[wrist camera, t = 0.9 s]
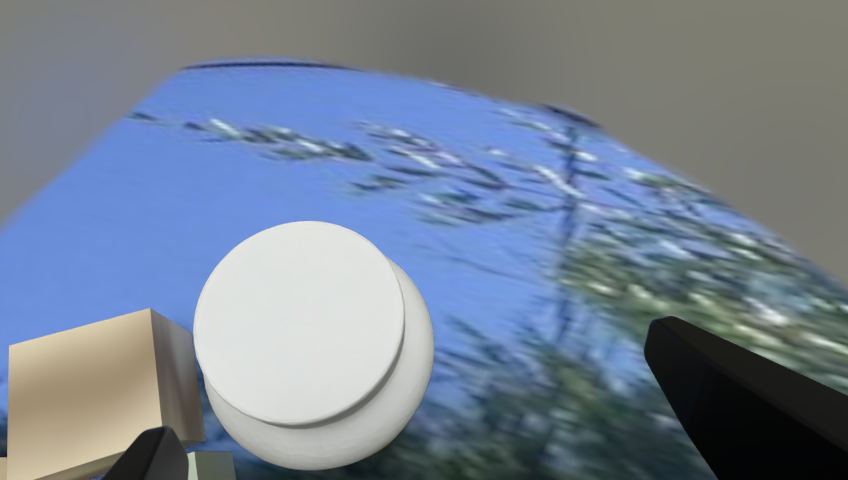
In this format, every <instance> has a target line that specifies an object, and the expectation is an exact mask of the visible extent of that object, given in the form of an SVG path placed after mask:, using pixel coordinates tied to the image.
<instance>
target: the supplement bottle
mask: <svg viewBox="0 0 848 480" xmlns="http://www.w3.org/2000/svg"><path fill="white" fill-rule="evenodd" d="M193 332H194V345H195V350H196V357H197V359H198V362H199V365H200V367H201V370H202V372H203V374H204V382H205V388H206V391H207V395H208V398H209V401H210V403H211V406H212V408H213V410H214V412H215V414H216V416H217V417H218V419H219V421H220V422H221V424H222V425H223V427H224V428H225V430H226V431H227V432H228V433H229V434H230V435H231V437H232V438H233V439H234V440H235V441H236V442H238V443H239V444H240V445H241V446H242V447H243V448H245V449H246V450H247V451H249V452H250V453H252V454H254V455H255V456H257V457H259V458H261V459H262V460H264V461H267V462H269V463H272V464H275V465H278V466H281V467H285V468H290V469H296V470H324V469H331V468H336V467H341V466H345V465H349V464H352V463H355V462H358V461H360V460H362V459H364V458H367V457H369V456H371V455H373V454H375V453H376V452H378V451H380V450H381V449H383V448H384V447H386V446H387V445H388V444H389V443H390V442H392V441H393V440H394V439H395V438H396V437H397V435H398V434H399V433H400V432H401V431H402V430H403V428H404V427H405V426H406V425H407V423H408V422H409V421H410V419H411V418H412V416H413V415H414V413H415V411H416V410H417V408H418V406H419V405H420V403H421V401H422V399H423V396H424V394H425V392H426V389H427V387H428V384H429V380H430V377H431V373H432V367H433V359H434V334H433V328H432V323H431V318H430V315H429V312H428V309H427V306H426V303H425V301H424V299H423V297H422V295H421V293H420V292H419V290H418V289H417V287H416V285H415V284H414V283H413V281H412V280H411V279H410V278H409V276H408V275H407V274H406V273H405V272H404V271H403V270H402V269H401V268H400V267H399V266H398V265H397V264H395V263H394V262H393V261H391V260H390V259H389V258H387V257H386V256H384V255H383V254H382V253H381V252H380V251H379V250H378V249H377V247H376V246H375V245H373V244H372V243H371V242H370V241H368V240H367V239H366V238H364V237H362V236H361V235H359V234H357V233H356V232H354V231H352V230H349V229H347V228H344V227H341V226H339V225H335V224H330V223H326V222H319V221H299V222H291V223H286V224H281V225H278V226H275V227H272V228H269V229H266V230H263V231H261V232H259V233H257V234H255V235H253V236H251V237H249V238H248V239H246V240H245V241H243V242H242V243H240V244H239V245H238V246H236V247H235V248H234V249H233V250H232V251H230V252H229V253H228V254H227V255H226V256H225V257H224V258H223V259H222V260H221V262H220V263H219V264H218V265H217V266H216V268H215V269H214V270H213V272H212V273H211V275H210V277H209V278H208V280H207V282H206V283H205V286H204V288H203V290H202V292H201V294H200V297H199V300H198V303H197V307H196V311H195V317H194V327H193Z"/></svg>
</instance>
